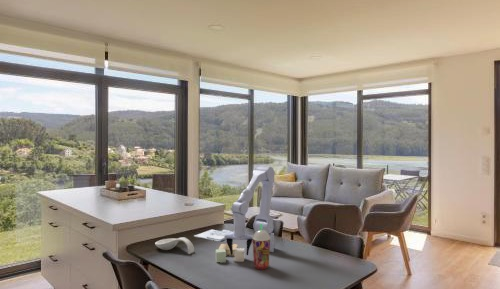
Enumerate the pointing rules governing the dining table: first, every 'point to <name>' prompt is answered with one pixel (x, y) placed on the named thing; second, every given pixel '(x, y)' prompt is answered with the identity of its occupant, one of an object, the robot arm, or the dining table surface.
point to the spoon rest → (174, 244)
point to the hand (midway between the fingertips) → (239, 254)
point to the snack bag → (214, 235)
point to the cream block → (239, 254)
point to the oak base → (226, 247)
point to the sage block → (220, 255)
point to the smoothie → (261, 248)
